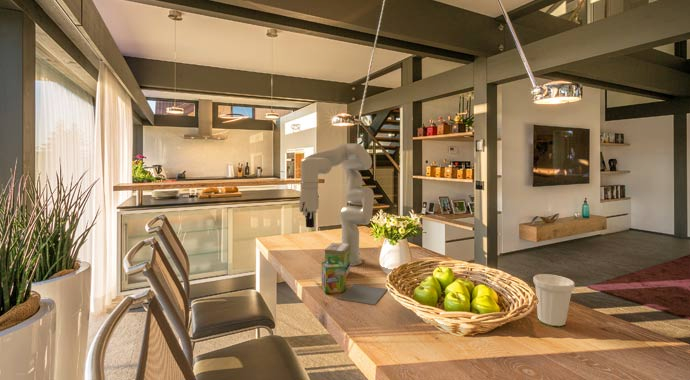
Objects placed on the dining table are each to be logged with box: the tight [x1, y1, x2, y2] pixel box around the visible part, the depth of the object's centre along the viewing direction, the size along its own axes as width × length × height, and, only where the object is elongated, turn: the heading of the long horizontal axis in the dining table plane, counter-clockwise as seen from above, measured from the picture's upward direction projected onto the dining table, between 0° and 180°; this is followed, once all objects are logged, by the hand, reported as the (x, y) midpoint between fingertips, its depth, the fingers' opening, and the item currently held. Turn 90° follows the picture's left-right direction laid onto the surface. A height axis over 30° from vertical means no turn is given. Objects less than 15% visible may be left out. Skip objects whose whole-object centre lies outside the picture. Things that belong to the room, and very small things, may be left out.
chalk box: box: [321, 256, 347, 295], centre depth 155 cm, size 9×9×15 cm
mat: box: [337, 283, 388, 306], centre depth 150 cm, size 18×16×1 cm
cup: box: [532, 273, 576, 327], centre depth 124 cm, size 12×12×15 cm
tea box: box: [324, 242, 351, 277], centre depth 173 cm, size 15×10×15 cm
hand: (310, 227), depth 157 cm, fingers closed
